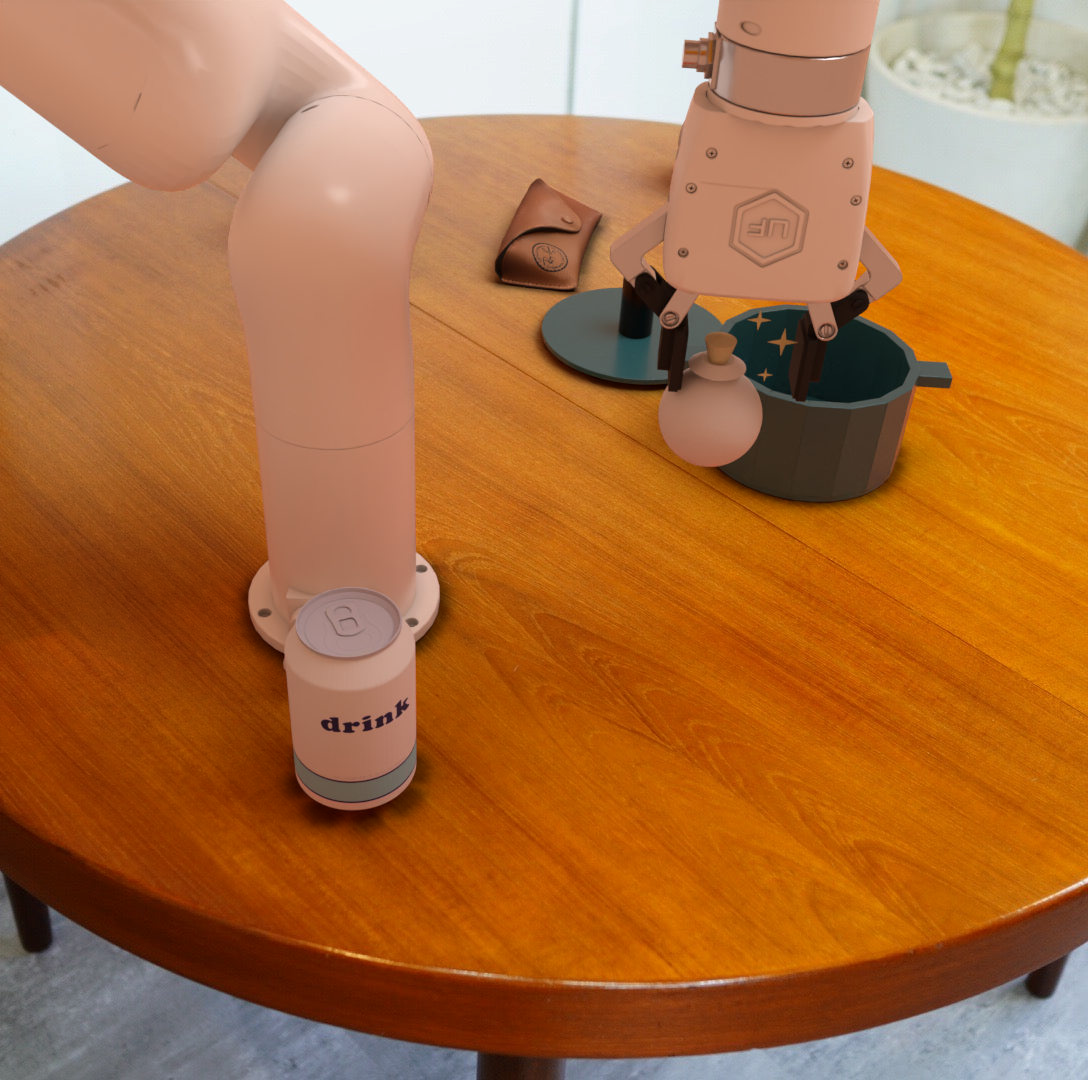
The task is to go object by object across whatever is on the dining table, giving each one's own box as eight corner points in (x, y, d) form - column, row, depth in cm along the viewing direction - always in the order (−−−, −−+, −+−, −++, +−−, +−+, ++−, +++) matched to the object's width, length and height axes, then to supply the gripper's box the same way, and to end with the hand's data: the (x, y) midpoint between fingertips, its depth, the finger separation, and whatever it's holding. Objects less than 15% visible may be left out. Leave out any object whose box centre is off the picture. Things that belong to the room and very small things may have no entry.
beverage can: (315, 836, 73) (302, 680, 65) (282, 750, 78) (267, 595, 70) (433, 802, 75) (433, 647, 68) (394, 720, 80) (390, 567, 73)
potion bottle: (648, 428, 81) (665, 282, 75) (768, 430, 82) (794, 284, 75) (659, 486, 76) (677, 335, 70) (785, 488, 77) (815, 338, 71)
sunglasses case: (582, 288, 125) (549, 228, 121) (517, 314, 127) (484, 256, 124) (605, 211, 139) (576, 155, 136) (546, 236, 142) (517, 182, 138)
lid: (733, 397, 112) (745, 328, 108) (537, 384, 112) (541, 314, 108) (720, 303, 125) (729, 239, 121) (544, 292, 125) (548, 227, 121)
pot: (946, 511, 100) (974, 416, 95) (671, 492, 100) (684, 397, 95) (909, 402, 113) (932, 313, 107) (664, 386, 113) (675, 296, 107)
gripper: (609, 84, 62) (582, 407, 73) (978, 111, 62) (895, 432, 73) (612, 35, 68) (587, 341, 79) (949, 59, 68) (876, 363, 79)
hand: (735, 382), depth 76 cm, fingers closed on potion bottle, 6 cm apart
